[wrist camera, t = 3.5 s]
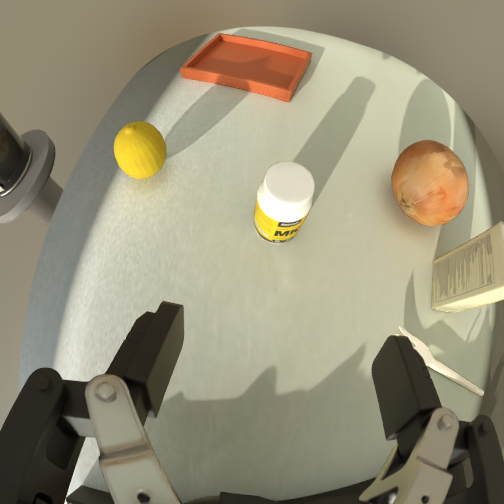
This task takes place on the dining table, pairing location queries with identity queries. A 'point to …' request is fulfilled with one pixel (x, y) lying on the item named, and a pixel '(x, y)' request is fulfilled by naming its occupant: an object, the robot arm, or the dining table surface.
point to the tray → (249, 65)
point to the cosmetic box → (470, 273)
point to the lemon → (140, 150)
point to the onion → (430, 183)
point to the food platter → (91, 500)
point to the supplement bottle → (283, 202)
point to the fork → (438, 366)
